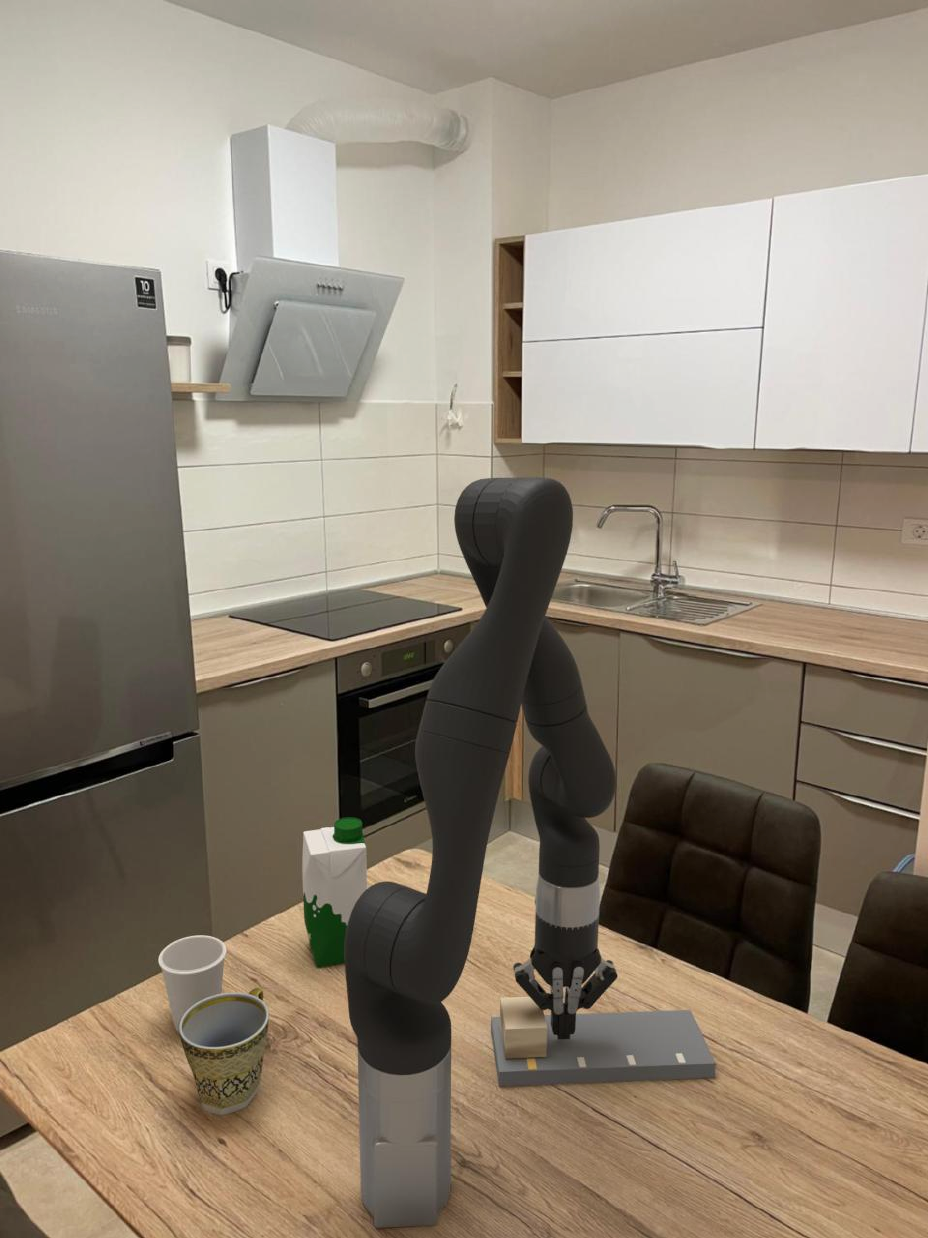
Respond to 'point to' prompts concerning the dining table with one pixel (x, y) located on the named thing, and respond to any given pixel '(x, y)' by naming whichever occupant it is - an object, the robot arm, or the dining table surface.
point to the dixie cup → (192, 971)
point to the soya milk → (332, 885)
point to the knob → (522, 1028)
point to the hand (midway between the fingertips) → (562, 1035)
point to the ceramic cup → (226, 1048)
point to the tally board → (612, 1051)
